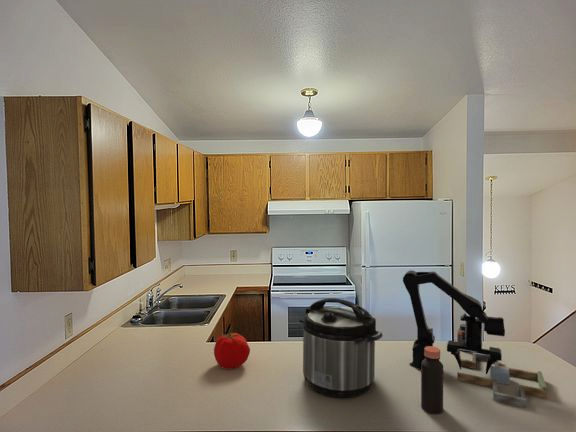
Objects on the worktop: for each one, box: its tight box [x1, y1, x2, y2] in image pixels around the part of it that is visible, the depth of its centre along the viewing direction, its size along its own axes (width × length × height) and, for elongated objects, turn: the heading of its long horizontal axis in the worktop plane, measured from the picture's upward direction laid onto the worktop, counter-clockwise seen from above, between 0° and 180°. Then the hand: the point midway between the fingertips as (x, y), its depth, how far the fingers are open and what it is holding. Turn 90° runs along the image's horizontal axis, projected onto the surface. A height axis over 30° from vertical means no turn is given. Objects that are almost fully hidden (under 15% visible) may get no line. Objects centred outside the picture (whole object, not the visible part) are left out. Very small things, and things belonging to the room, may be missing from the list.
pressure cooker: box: [299, 297, 383, 398], centre depth 136 cm, size 30×28×32 cm
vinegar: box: [420, 345, 444, 415], centre depth 117 cm, size 7×7×20 cm
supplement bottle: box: [456, 323, 468, 352], centre depth 163 cm, size 6×6×11 cm
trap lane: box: [456, 352, 548, 409], centre depth 135 cm, size 28×34×4 cm
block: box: [489, 365, 511, 386], centre depth 135 cm, size 6×5×4 cm
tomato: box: [213, 332, 251, 370], centre depth 150 cm, size 16×14×14 cm
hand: (473, 371), depth 140 cm, fingers open, 8 cm apart
